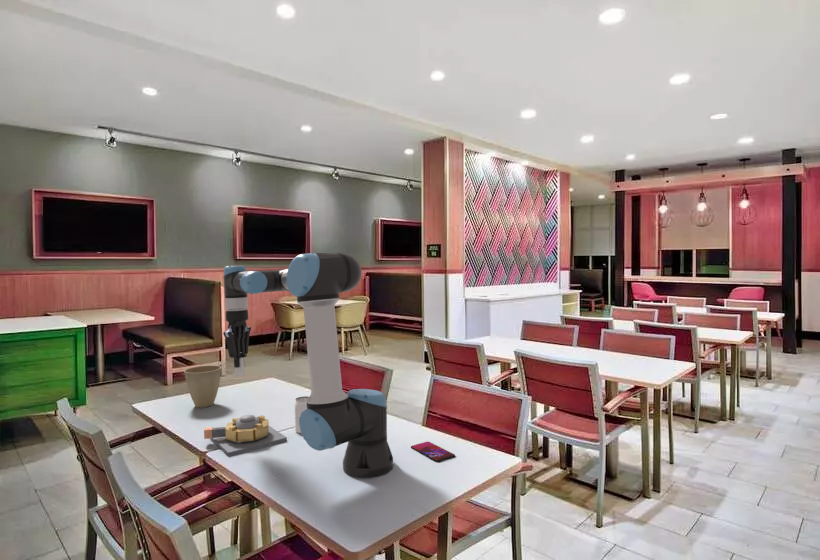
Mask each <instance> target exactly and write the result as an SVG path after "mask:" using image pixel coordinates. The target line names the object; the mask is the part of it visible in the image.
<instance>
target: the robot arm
mask: <svg viewBox="0 0 820 560" xmlns="http://www.w3.org/2000/svg"><path fill="white" fill-rule="evenodd" d="M362 275H363V274H362V266H361V264H360V263H359V261H358V259H356V258H355V257H354V256H353V255H351V254H348V253H344V252H334V253H333V252H310V253H309V252H308V253H301V254H298V255H297V256H295V257H294V258H293V259H292V260H291V262H290V264H289V265H288V268H286V269H275V270H272V269H271V270H247V267H246V266H245V265H231V266H230V265H226V266H224V268H223V277H222V279H223V288H224V301H225V302H224V303H225V305H224V307H225V310H226V311H225V321H226V322H228V325H227V330H226V331H223V336H224V338H225V342H226V347H227V352H228V356H229V358H230V359H233V364H234V365H233V368H234V377H244V376H245V358H246V357H247V355H248V352H249V343H250V333H251V331H252V327H251V326H248V325H247V321H248V320H249V310H248V307H249V305H248V304H249V302H248V294H249V295H257V294H261V293H273V292H289V293H290V294H291V295H292V296H293V297H296V300H297V301H296V303H297V304H298V305H299V306H300V307H302V308H303V316H304V326H305V328H304V329H305V337H306V350H307V352H306V353H307V360H308V361H307V362H308V372H309V385H310V392H311V393H310V396H309V395H308V397H309V398H308V399H307V400H306V404H307V409H306V410H304V411H303V412H302V413H301V416H300V418H299V425H300V430H301V433H302V434H301V435H302V438H303V439H304V441H305V442H306V444H307V445H308V447H310V448H312V449H314V450H315V451H319V452H320V451H324V450H325V451H326V450H327V449H329V450H330V449H333V448H335V447H337V446H340V445H343V444H345V443H347V445H346V450H345V453H344V456H343V459H342V469H343V472H344V473H345V474H346V475H348V476H351V477H355V478H364V479H365V478H368V479H369V478H376V477H380V476H383V475H386V474H388V473H389V472H391V471H392V470H393V468H394V456H393V453H392V451H391V449H390V445H389V442H388V428H387V427H388V426H387V425H388V421H387V419H388V418H387V417H388V416H387V415H388V414H387V413H388V412H387V411H388V410H387V408H388V405H387V398H386V395H385V394H384V393H383V392H382V391H379V390H376V389H369V388H357V389H355V388H353V389H350V390H348V391H347V393H346V392H345V391H344V390H343V385H342V383H343V382H342V373H341V362H340V351H339V341H338V340H339V339H338V329H337V320H336V319H337V318H336V317H337V316H336V310H335V309H336V308H335V305H336V304H337V303H338V301H339V300H340V293H346V292H348V291H352V290H353V289H355V288H356V286H358V284H359V283H360V281H361V279H362Z"/></svg>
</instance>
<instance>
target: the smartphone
mask: <svg viewBox="0 0 820 560" xmlns="http://www.w3.org/2000/svg"><path fill="white" fill-rule="evenodd" d="M410 449H412V450H413V451H416V452H417V453H419V454H421V455H422V456H424V457H426V458H427V459H429V460H431V461H432V462H434V463H441V462H444V461H447V460H451V459H453V458H456V454H455V453H452V452H450V451H448V450H446V449H445V448H443V447H441V446H439V445H436V444H435V443H433V442H430V441H425V442H424V441H423V442H421V443H417V444H414V445H411V446H410Z"/></svg>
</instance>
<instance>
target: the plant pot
mask: <svg viewBox="0 0 820 560" xmlns="http://www.w3.org/2000/svg"><path fill="white" fill-rule="evenodd" d="M183 373H184V378H185V382H186V386H187V389H188V392H189V395H190V398H191V400H192V402H193V404H194V407H196V408H199V407H200V408H208V407H211V406H213V405H214V403H215V401H216V398H217V395H218V391H219V387H220V382H221V375H222V366H220V365H216V364H215V365H214V364H213V365H212V364H210V365H200V366H199V365H198V366H192V367H190V368H186V369H184V370H183Z"/></svg>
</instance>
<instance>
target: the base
mask: <svg viewBox="0 0 820 560" xmlns="http://www.w3.org/2000/svg"><path fill="white" fill-rule="evenodd" d="M239 418H240V419H237V420H236V426H237V429H239V430H243V429H253V428H255V424H258V423H259V418H258V416H255V415H254V414H245V415H242V416H239ZM209 439H210V440H211V441H212V442H213V443H214V445H216V446H217V448H219V449H220V450H221V451H222V452H224V454H225V455H226V456H227V457H230V456H235V455H238V454H242V453H246V452H249V451H254V450H257V449H261V448H264V447H269V446H273V445H276V444H281V443H284V442H287V441H288V437H287V436H285V434H284V435H283V434H282V433H281V432H279V431H278V430H276V429H275V428H273V427H272V426H270V425H269V433H268V435H267V436H265V437H262V438H260V439H257V440H254V441H245V442H238V441H237V442H234V441H230V440H227V439H226V437H217V438H209Z"/></svg>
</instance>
